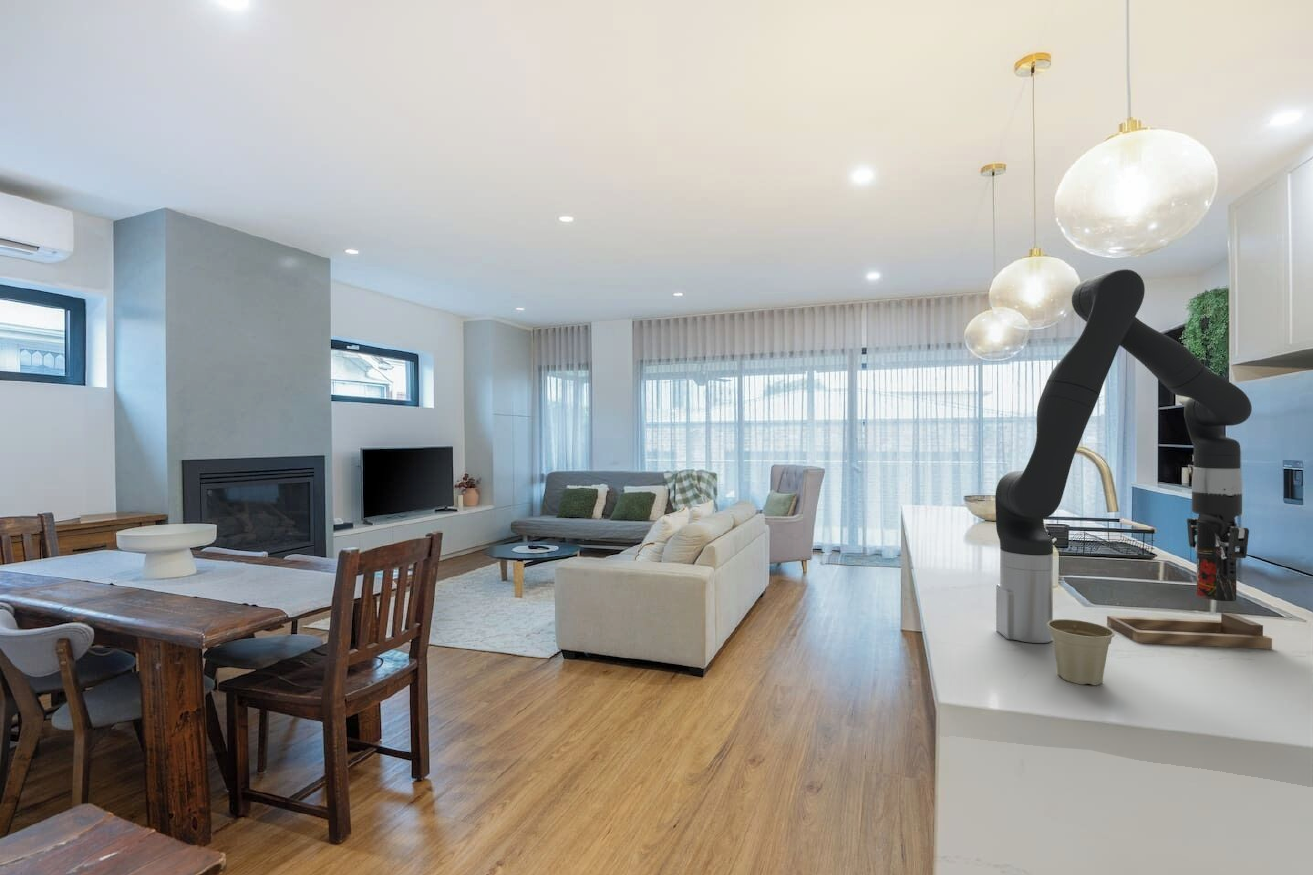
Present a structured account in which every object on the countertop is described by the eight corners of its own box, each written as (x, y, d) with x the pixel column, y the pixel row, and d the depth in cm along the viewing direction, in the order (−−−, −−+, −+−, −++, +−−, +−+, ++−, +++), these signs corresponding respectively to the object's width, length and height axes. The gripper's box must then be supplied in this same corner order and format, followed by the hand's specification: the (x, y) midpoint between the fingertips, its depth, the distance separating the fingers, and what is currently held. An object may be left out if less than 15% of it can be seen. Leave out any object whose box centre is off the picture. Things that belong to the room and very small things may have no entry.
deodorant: (1244, 601, 123) (1244, 524, 122) (1208, 600, 124) (1209, 524, 124) (1223, 594, 128) (1223, 520, 128) (1189, 592, 130) (1190, 519, 129)
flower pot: (1117, 695, 99) (1117, 640, 99) (1046, 682, 104) (1046, 630, 104) (1112, 675, 107) (1112, 624, 107) (1046, 664, 112) (1047, 616, 112)
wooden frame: (1137, 642, 124) (1137, 622, 124) (1107, 625, 134) (1107, 606, 134) (1272, 648, 120) (1272, 627, 120) (1229, 630, 131) (1229, 611, 131)
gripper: (1172, 487, 134) (1172, 566, 134) (1221, 494, 119) (1220, 582, 120) (1212, 487, 132) (1212, 567, 132) (1266, 494, 118) (1266, 583, 118)
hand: (1216, 574), depth 126 cm, fingers closed on deodorant, 6 cm apart
